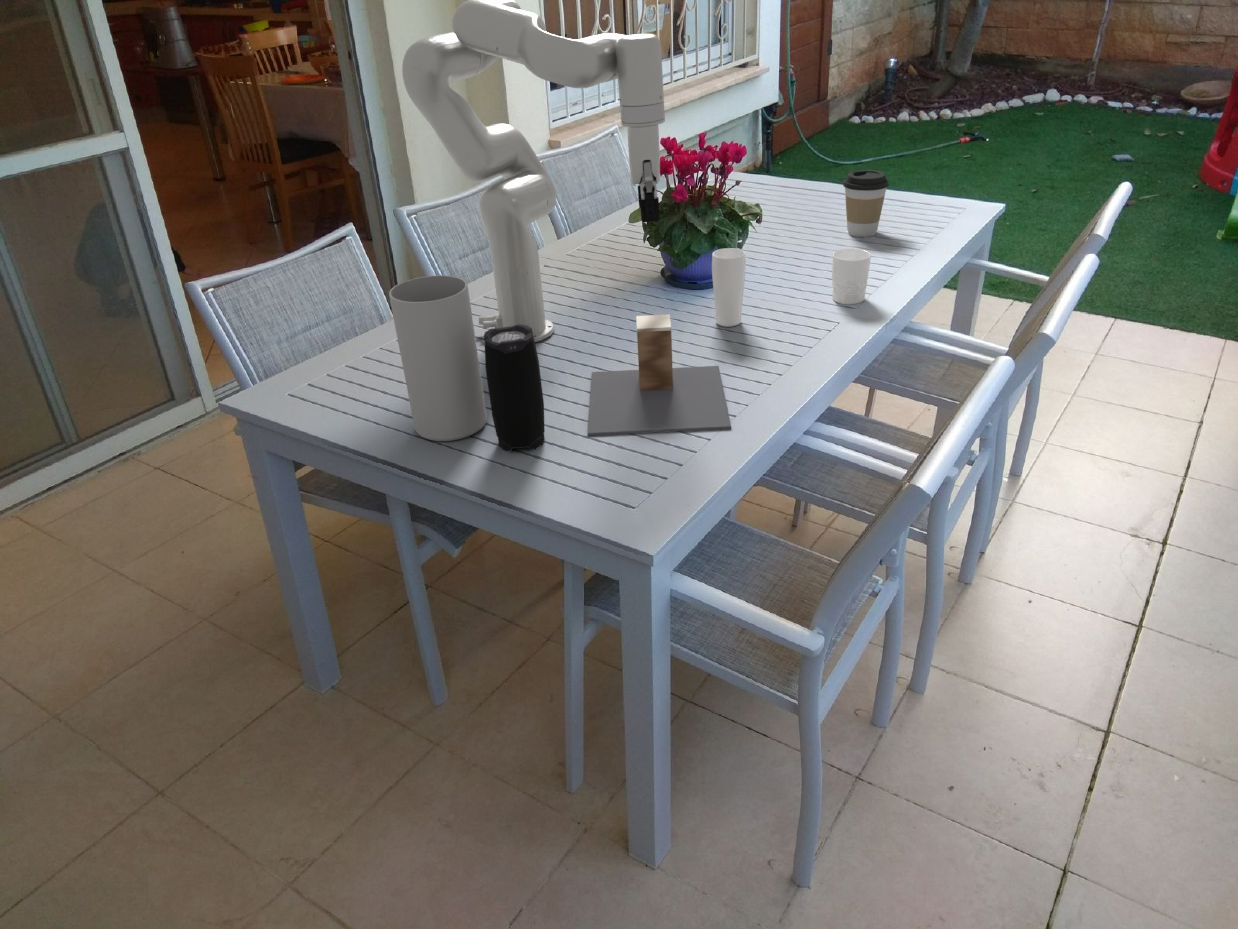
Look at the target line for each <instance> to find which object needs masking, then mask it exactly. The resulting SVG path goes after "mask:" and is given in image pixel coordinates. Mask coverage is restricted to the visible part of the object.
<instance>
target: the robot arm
mask: <svg viewBox="0 0 1238 929" xmlns="http://www.w3.org/2000/svg"><path fill="white" fill-rule="evenodd" d="M662 57H663V56H662V43H661V40H660V37H658V36H657V35H656V34H653V33H637V34H635V33H634V34H629V35H628V34H627V35H626V34H621V33H614V32H613V33H612V32H605V33H604V32H603V33H599V34H595V35H590V36H587V37H581V38H579V39H572V38H568V37H564V36H561V35H557V34H553V33H550V32H547V28H546V24H545V22H544V20H543V19H542V17H541V16H540V15H538V14H537V13H534V12H531V11H528V10H523V9H522V8H521V6H520V5H519V4H518V2H517V1H516V0H466V1H463V3H461V4H460V5H459V6H458V7H457V9H455V12H454V14H453V17H452V31H451V32H445V33H439V34H435V35H430V36H427V37H424V38H421V39H418V40H416V41H415V42H414V43H412V44H411V45H410V46H409V47H408V48H407V49H406V51H405V53H404V57H403V59H402V64H401V65H402V66H401V69H402V70H401V71H402V80H403V84H404V89H405V90H406V93H407V95H408V96H409V98H410V100H411V101H412V103H413V104H414V106H415V107H416V108H417V110H418V111H419V113H421V115H422V116H423V118H425V120H426V121H427V122H428V124H429V125H430V126H431V127H432V129H433V130H434V133H436V135H437V137H438V139H439V140H440V142H441V143H442V145H443V146H444V148H445V150H446V151H447V153H448V154H449V156H450V157H451V159H452V160H453V162H454V163H455V165H456V166H457V168H458V169H459V171H460V172H461V174H462V175H463V176H464V177H465V178H466V180H468V181H470V182H472V183H475V184H476V183H477V184H478V183H485V182H487V181H488V182H489V181H491V180H494V179H496V178H499V177H501V176H502V178H503V180H501V181H498V182H496V183H494V184H492V185H491V186H490V187H488V188H487V189H486V190H485V192H484V193H483V194H482V196H481V199H480V203H479V213H480V216H481V217H480V218H481V220H482V223H483V227H484V230H485V233H486V236H487V240H488V244H489V251H490V259H491V264H492V265H491V266H492V272H493V279H494V288H495V289H494V290H495V295H496V296H495V297H496V303H497V313H493V315H478V323H479V324H478V325H480V326H483V329H489V328H490V329H491V328H495V329H497V328H504V327H510V326H515V325H518V324H520V325H527V326H529V327H530V328H532V331H533V337H534V340H535V343H537V342H541V341H543V340H546V339H548V338H550V336H551V335H553V333H554V332H555V331H554V328H555V326H554V324H553V322H552V321H551V320H548V319H546V315H545V314H546V313H545V305H544V304H545V303H544V295H543V286H542V276H541V275H542V274H541V265H540V264H541V263H540V257H539V256H540V255H539V249H538V246H537V242H536V240H535V237H534V236H533V234H532V232H531V230H530V224H532V223H534V222H537V221H538V220H540V219H542V218H544V217H546V216H548V215H549V214H550V213H551V212H552V211H553V210H554V208H555V206H556V203H557V198H558V197H557V191H556V187H555V184H554V182H553V180H552V178H551V176H550V175H549V173H548V172H547V170H546V167H544V165H543V163H542V162H541V159H539V157H538V156H537V154H536V152H535V151H534V149H533V148H532V145H530V143H529V142H528V140H527V139H526V137H525V136H524V135H523V133H521V131H520V130H518V129H517V128H516V127H514V126H513V125H512V124H508V123H504V122H500V123H493V124H491V125H488V126H486V125H484V123H483V122H482V120H480V118H479V117H478V115H477V114H476V112H475V110H474V108H473V107H472V105H471V104H470V103H469V102H468V101H467V99H465V98H464V97H463V96H462V95H461V94H459V93H458V92H456V91H455V90H453V89H452V87H451V86H450V83H454V82H458V81H462V80H465V79H470V78H473V77H476V76H478V75H479V74H481V73H483V72H484V71H486V69H488V68H489V67H490V66H492V65H493V64H494V63H495V62H496V61H497V60H498V59H499V58H501V59H504V60H507V61H510V62H514V63H516V64H521V65H523V66H524V67H525V68H526V69H527V70H528V71H529V72H530V73H532V74H533V75H534V76H536V77H538V79H539V78H540V80H541V79H542V80H544V81H547V82H550V83H554V84H557V85H560V86H564V87H568V88H573V89H588V88H591V87H594V86H598V85H600V84H603V83H608V82H611V81H613V80H617V83H618V84H617V85H618V96H619V110H620V121H621V122H620V123H621V124H620V125H621V126H623V127H627V145H628V147H627V148H628V149H627V150H628V159H629V160H628V161H629V173H630V182H631V185H632V186H633V187H636V186H637V195H638V206H639V208H640V217H641V222H642V223H651V222H658V221H660V220H661V219H660V202H659V200H660V199H659V197H658V191H657V185H658V184H660V181H661V180H660V177H661V175H660V174H661V172H660V171H661V162H660V161H661V159H660V158H661V157H660V156H661V154H660V152H661V151H660V130H659V128H660V127H659V125H661V124H664V123H665V122H666V114H665V98H664V78H663V58H662Z"/></svg>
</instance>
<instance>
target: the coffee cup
mask: <svg viewBox="0 0 1238 929" xmlns="http://www.w3.org/2000/svg"><path fill="white" fill-rule="evenodd" d="M889 182H890V181H889V179H888V178H887V176H886V173H885V172H883V171H880V170H875V169H860V170H859V169H857V170H853V171H851V172H848V174H847V176H846V178H845V179H844V180H843V184H842V186H843V187H844V194H845V196H844V197H845V210H846V212H845V214H846V215H845V216H846V226H847V227H846V230H847V233H848V235H850V236H852V237H855V238H856V237H857V238H869V237H873V236H875V235H876V234H877V231H878V230H879V224H880V220H881V219H880V218H881V215H882V211H883V207H884V206H883V205H884V200H885V197H886V191H887V188H888V187H889V185H890V184H889Z"/></svg>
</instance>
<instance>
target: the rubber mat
mask: <svg viewBox="0 0 1238 929" xmlns="http://www.w3.org/2000/svg"><path fill="white" fill-rule="evenodd" d="M672 370H673V389H665V390H645V391H640V382H639V369H626V370H625V369H623V370H608V371H605V370H604V371H592V372H591V380H590V381H591V382H590V394H589V408H588V420H587V421H588V423H587V437H588V436H604V435H605V436H606V435H607V436H610V435H630V434H632V435H633V434H649V433H650V434H651V433H665V432H666V433H668V432H669V433H671V432H672V433H673V432H689V431H690V432H691V431H694V432H695V431H711V430H712V431H713V430H714V431H716V430H717V431H718V430H731V429H732V423H731V419H730V414H729V409H728V405H727V404H728V403H727V399H726V395H725V390H724V385H723V380H722V375H721V370H720V366H719V365H708V366H707V365H706V366H689V367H688V366H687V367H684V366H683V367H672Z"/></svg>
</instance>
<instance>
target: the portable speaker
mask: <svg viewBox="0 0 1238 929" xmlns="http://www.w3.org/2000/svg"><path fill="white" fill-rule="evenodd" d="M483 341H484V363H485V366H484V367H485V374H486V382H487V388H488V395H489V396H488V397H489V402H490V403H489V404H490V411H491V417H492V420H493V425H494V430H495V434H496V435H495V436H496V437H497V441H498V446H499V448H501V450H503V451H506V452H511V450H513V449H522V448H529V449H530V450H537V449H538V448H540V447H541V446H543V444H544V442H545V404H544V393H543V387H542V378H541V368H540V362H539V355H538V351H537V346H536V342H535V340H534V337H533V331H532V328H530V327H529V326H527V325H520V324H518V325H515V326H510V327H504V328H497V329H495V327H492V328H490V329H488V330H486V331H485V332H484V335H483Z"/></svg>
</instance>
